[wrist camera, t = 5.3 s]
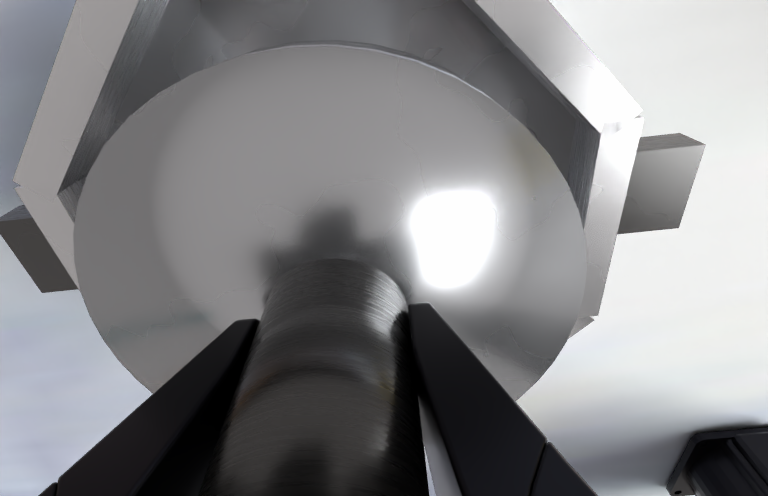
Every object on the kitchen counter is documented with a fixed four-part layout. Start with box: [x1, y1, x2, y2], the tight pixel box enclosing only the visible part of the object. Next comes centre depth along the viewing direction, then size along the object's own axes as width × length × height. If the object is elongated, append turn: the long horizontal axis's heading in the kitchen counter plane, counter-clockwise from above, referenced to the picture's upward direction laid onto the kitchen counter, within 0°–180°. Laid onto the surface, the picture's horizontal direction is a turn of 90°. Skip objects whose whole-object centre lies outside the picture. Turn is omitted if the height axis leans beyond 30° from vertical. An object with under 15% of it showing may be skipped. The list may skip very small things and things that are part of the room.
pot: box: [0, 0, 705, 339], centre depth 12 cm, size 13×19×6 cm
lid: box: [73, 40, 587, 496], centre depth 7 cm, size 10×10×5 cm
